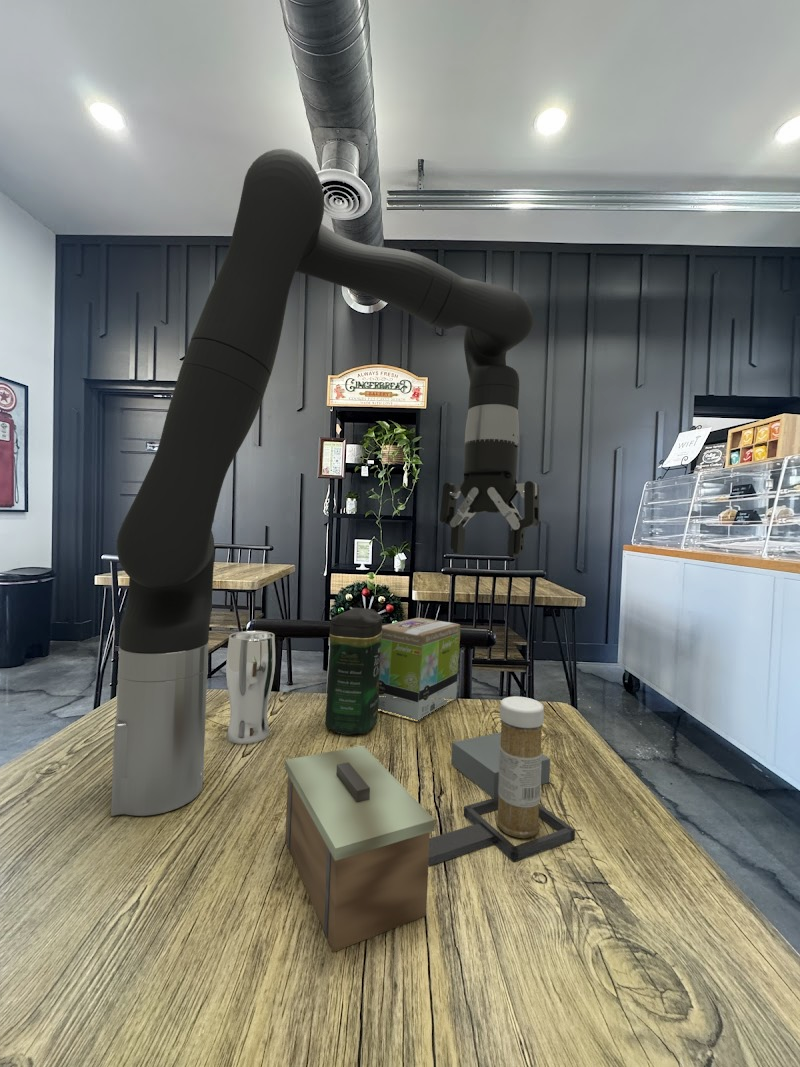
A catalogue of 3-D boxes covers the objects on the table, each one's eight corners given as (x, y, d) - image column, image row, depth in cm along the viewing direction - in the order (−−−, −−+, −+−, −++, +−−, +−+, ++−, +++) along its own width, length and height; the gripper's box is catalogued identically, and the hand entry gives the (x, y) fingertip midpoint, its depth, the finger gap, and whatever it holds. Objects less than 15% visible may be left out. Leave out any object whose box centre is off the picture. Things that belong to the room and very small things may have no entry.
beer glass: (226, 749, 66) (231, 641, 66) (220, 730, 72) (224, 631, 72) (276, 741, 69) (281, 638, 69) (266, 723, 75) (270, 629, 75)
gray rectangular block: (493, 798, 56) (494, 772, 56) (451, 764, 64) (452, 742, 64) (549, 782, 61) (550, 758, 61) (503, 752, 68) (503, 731, 68)
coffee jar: (369, 739, 71) (374, 615, 71) (318, 733, 72) (323, 612, 72) (383, 715, 80) (387, 606, 80) (338, 710, 82) (342, 603, 82)
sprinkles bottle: (528, 813, 53) (532, 694, 54) (547, 839, 49) (552, 709, 49) (489, 815, 53) (494, 695, 53) (505, 842, 48) (510, 710, 48)
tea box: (419, 724, 77) (423, 634, 77) (369, 710, 83) (372, 625, 83) (458, 699, 90) (461, 621, 90) (412, 688, 95) (415, 615, 96)
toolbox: (331, 956, 34) (336, 834, 34) (281, 838, 47) (285, 750, 47) (431, 916, 38) (435, 807, 38) (360, 818, 51) (364, 736, 51)
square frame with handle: (446, 887, 42) (446, 875, 42) (402, 833, 49) (402, 823, 49) (574, 839, 49) (575, 829, 49) (520, 798, 56) (520, 790, 56)
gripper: (435, 440, 69) (429, 552, 69) (531, 432, 61) (524, 559, 60) (458, 450, 75) (453, 552, 75) (549, 444, 67) (543, 559, 67)
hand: (485, 555), depth 68 cm, fingers open, 8 cm apart
